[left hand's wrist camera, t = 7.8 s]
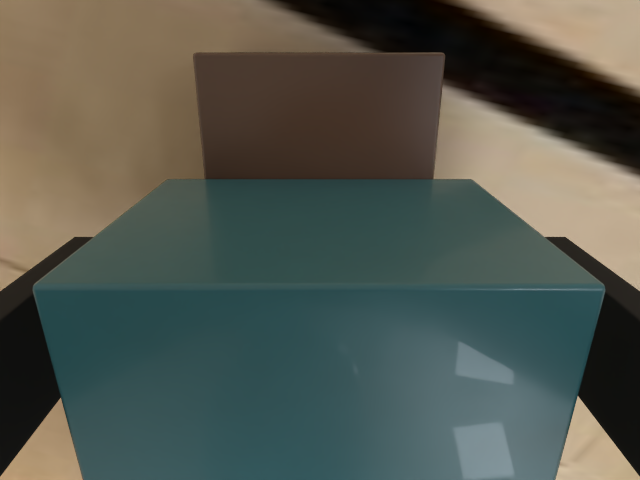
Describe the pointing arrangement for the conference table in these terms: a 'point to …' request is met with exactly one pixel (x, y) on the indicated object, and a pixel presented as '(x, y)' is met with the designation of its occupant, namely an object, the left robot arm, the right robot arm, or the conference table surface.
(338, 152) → the tall bronze post
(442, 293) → the cap block
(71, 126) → the conference table surface
